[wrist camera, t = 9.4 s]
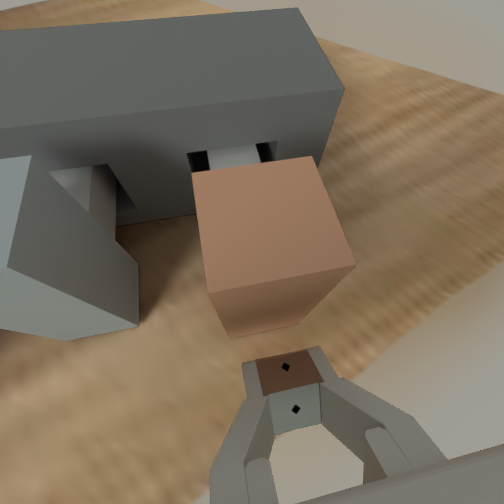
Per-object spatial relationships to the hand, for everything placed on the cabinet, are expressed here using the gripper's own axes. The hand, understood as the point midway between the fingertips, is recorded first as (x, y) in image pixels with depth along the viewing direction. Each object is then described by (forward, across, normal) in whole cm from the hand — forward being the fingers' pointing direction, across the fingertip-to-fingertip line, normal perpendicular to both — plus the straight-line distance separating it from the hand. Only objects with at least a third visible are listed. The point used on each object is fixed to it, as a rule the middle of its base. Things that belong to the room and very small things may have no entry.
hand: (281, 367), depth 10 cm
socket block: (+14, +4, -7) cm, 16 cm away
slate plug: (+9, +9, -3) cm, 13 cm away
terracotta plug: (+8, 0, -2) cm, 8 cm away
